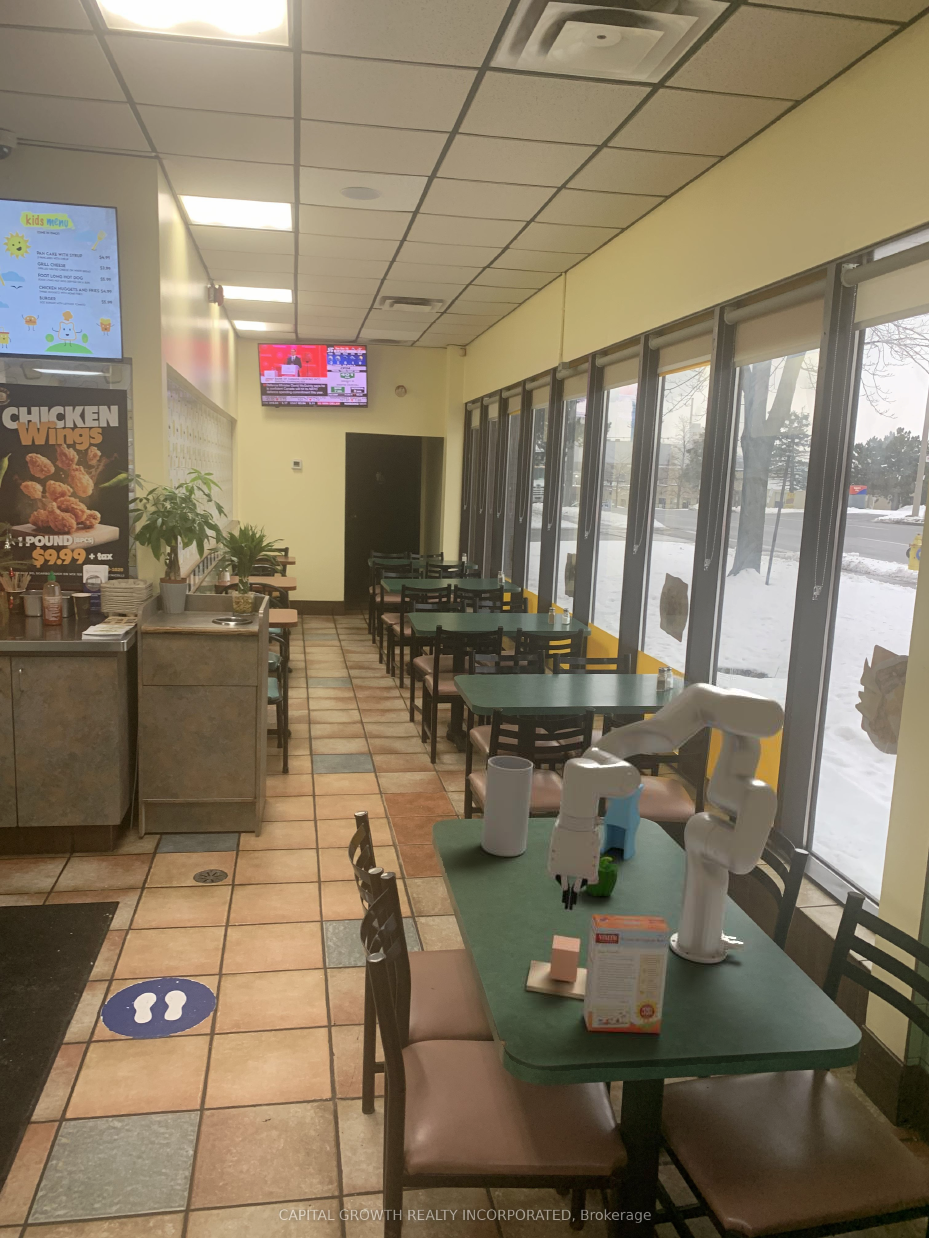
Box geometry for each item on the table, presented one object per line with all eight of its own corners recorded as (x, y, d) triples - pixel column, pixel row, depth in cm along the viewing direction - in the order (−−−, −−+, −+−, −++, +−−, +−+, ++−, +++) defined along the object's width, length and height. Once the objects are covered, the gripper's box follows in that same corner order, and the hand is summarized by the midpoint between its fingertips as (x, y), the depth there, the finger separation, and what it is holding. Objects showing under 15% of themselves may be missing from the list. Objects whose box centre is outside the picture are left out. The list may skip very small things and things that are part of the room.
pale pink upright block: (577, 968, 186) (580, 938, 185) (576, 982, 181) (579, 951, 180) (551, 964, 187) (554, 935, 186) (549, 978, 181) (552, 947, 180)
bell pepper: (574, 890, 227) (578, 853, 226) (595, 883, 233) (599, 846, 231) (600, 903, 221) (604, 865, 220) (621, 895, 227) (625, 858, 225)
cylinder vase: (505, 836, 260) (511, 753, 256) (534, 851, 250) (542, 765, 246) (472, 845, 252) (478, 759, 248) (501, 861, 242) (509, 772, 238)
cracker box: (652, 1016, 174) (663, 915, 171) (660, 1035, 168) (672, 931, 165) (581, 1012, 174) (591, 911, 171) (586, 1031, 168) (597, 927, 165)
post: (597, 975, 188) (601, 939, 186) (596, 1001, 178) (599, 963, 177) (531, 964, 190) (534, 929, 189) (526, 989, 180) (529, 952, 179)
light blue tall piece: (636, 851, 256) (643, 784, 253) (626, 860, 249) (633, 791, 246) (611, 844, 260) (617, 778, 257) (600, 852, 253) (607, 784, 250)
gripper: (615, 819, 181) (606, 904, 184) (542, 809, 184) (534, 893, 186) (615, 832, 174) (605, 921, 177) (538, 821, 176) (530, 909, 179)
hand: (568, 906), depth 181 cm, fingers closed
